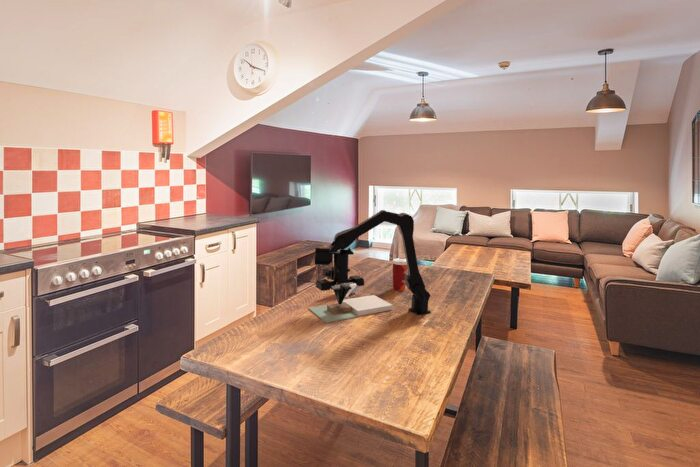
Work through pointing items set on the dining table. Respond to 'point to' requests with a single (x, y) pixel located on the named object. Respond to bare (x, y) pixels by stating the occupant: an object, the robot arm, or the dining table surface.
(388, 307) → the deck
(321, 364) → the dining table surface
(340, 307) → the walnut tile
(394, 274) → the paper cup
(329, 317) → the mat
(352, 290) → the plastic part
